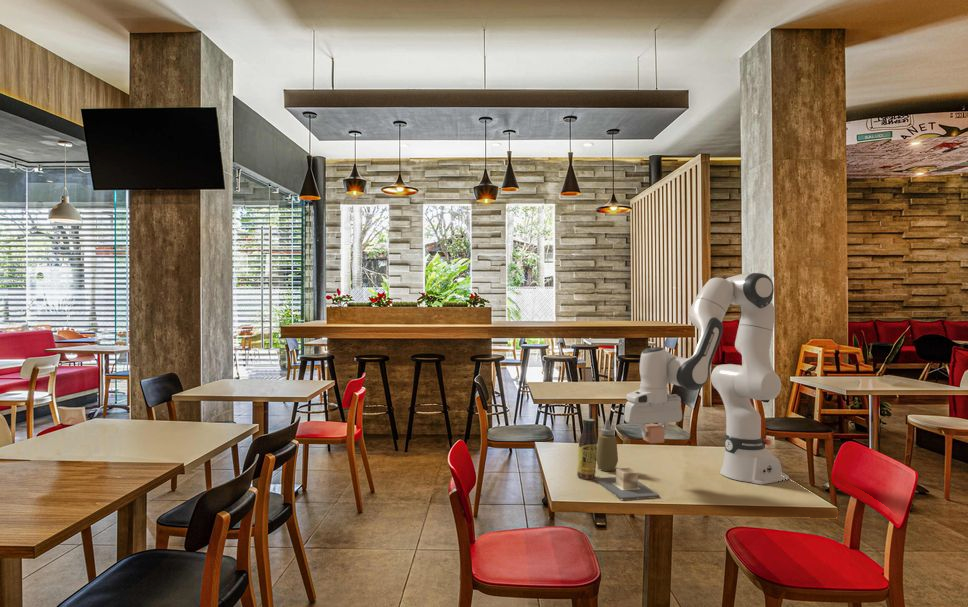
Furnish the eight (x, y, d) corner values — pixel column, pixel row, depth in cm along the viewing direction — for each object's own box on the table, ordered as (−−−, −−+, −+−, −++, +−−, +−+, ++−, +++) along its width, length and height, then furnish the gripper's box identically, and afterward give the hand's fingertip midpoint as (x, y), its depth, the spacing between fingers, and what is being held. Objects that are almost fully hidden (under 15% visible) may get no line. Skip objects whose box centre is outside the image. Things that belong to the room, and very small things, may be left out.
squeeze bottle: (619, 467, 192) (620, 418, 192) (615, 474, 185) (616, 423, 185) (597, 464, 195) (599, 416, 195) (592, 470, 188) (594, 420, 188)
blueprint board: (630, 478, 180) (630, 475, 180) (659, 497, 163) (659, 494, 163) (595, 480, 177) (595, 477, 177) (621, 500, 160) (621, 497, 160)
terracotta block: (656, 438, 181) (656, 423, 181) (664, 442, 176) (664, 427, 176) (643, 439, 180) (643, 424, 179) (650, 443, 175) (650, 428, 175)
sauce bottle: (582, 480, 177) (583, 421, 177) (573, 474, 183) (575, 417, 183) (599, 479, 179) (600, 421, 179) (590, 473, 185) (592, 417, 185)
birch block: (629, 482, 173) (629, 467, 173) (637, 488, 168) (637, 472, 168) (615, 483, 172) (616, 468, 172) (623, 489, 167) (623, 473, 167)
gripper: (675, 392, 183) (675, 431, 183) (621, 395, 178) (622, 435, 178) (686, 395, 177) (686, 436, 177) (631, 398, 172) (631, 440, 172)
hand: (653, 435), depth 178 cm, fingers closed on terracotta block, 5 cm apart
